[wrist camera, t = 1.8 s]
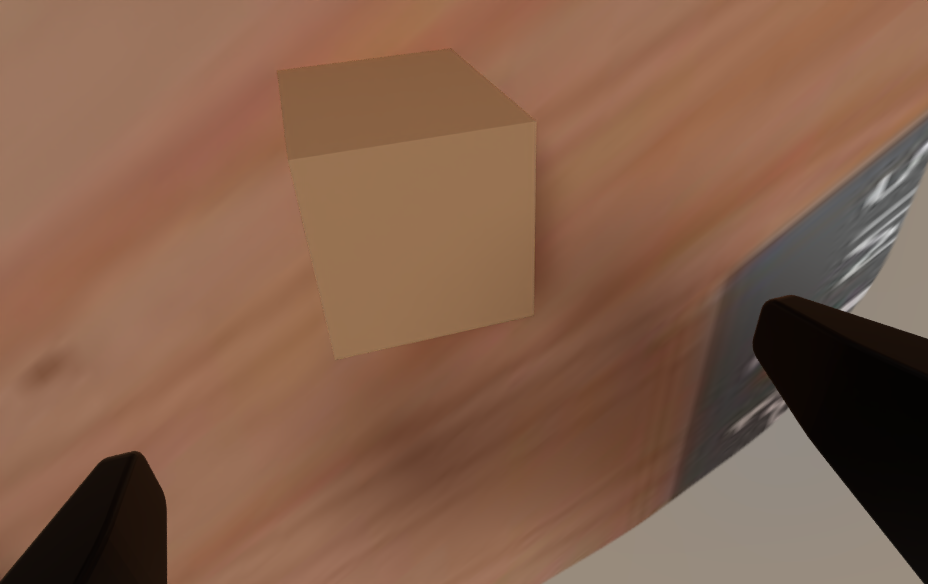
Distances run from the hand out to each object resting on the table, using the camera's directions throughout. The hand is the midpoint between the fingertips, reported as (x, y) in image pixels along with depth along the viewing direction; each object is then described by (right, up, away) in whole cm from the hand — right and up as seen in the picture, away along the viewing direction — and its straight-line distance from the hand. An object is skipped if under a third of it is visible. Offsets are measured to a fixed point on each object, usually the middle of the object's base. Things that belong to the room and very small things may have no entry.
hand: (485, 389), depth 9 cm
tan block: (-3, +5, +8) cm, 10 cm away
